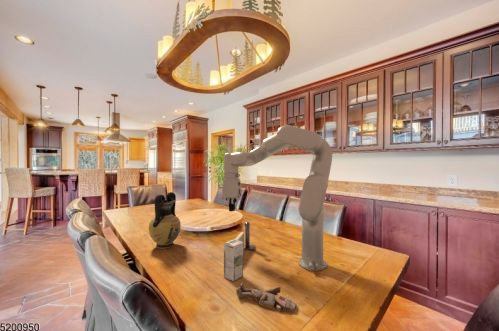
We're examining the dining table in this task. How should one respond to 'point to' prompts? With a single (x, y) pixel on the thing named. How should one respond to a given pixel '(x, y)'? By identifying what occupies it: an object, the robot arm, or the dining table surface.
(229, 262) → the syrup box
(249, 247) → the gate post
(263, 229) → the dining table surface
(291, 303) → the figurine
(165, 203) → the amphora
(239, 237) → the gate leaf
